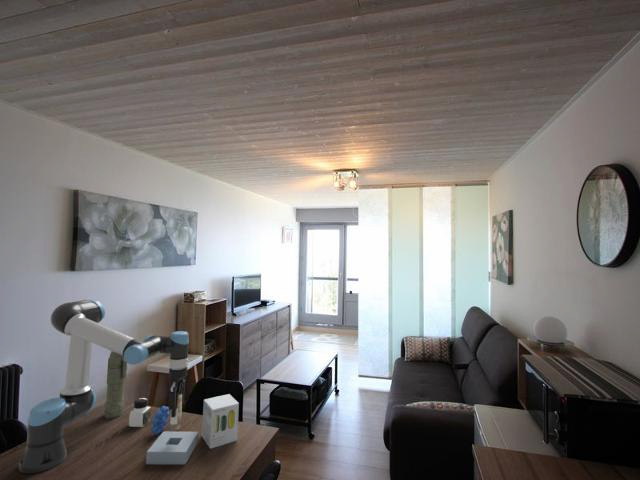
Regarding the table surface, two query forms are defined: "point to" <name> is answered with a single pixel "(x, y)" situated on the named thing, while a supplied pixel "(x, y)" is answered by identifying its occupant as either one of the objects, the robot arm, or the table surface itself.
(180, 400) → the peg
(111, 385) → the thermos
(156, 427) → the grapes
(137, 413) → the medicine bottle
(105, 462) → the table surface
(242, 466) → the table surface
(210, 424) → the supplement box
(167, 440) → the socket block
